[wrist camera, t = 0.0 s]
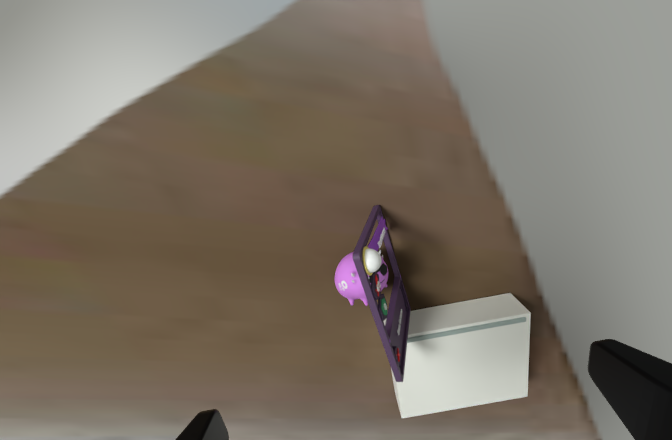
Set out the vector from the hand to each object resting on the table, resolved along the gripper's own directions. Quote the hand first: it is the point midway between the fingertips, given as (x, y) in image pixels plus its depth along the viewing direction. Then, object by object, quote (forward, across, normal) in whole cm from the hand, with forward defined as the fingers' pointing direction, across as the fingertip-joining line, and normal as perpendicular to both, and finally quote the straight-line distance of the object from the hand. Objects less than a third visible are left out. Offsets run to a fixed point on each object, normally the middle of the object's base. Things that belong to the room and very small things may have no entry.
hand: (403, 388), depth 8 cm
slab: (+15, -6, +13) cm, 21 cm away
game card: (+15, 0, +5) cm, 16 cm away
